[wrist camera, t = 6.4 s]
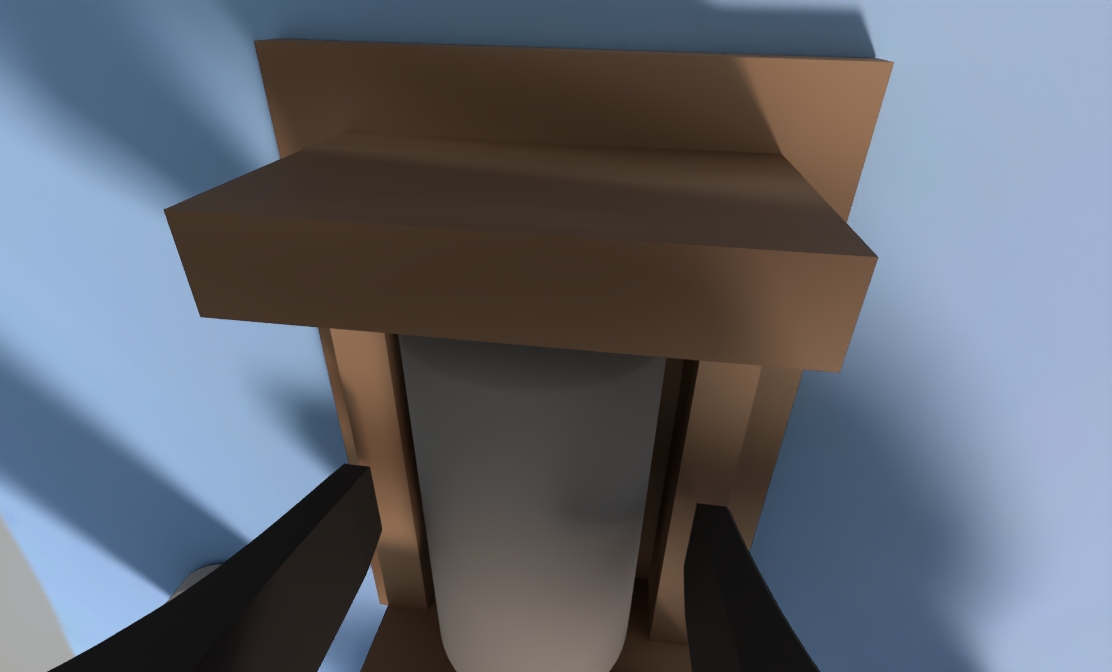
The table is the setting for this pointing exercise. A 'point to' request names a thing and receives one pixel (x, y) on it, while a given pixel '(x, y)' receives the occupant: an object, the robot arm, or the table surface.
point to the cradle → (553, 260)
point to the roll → (531, 496)
